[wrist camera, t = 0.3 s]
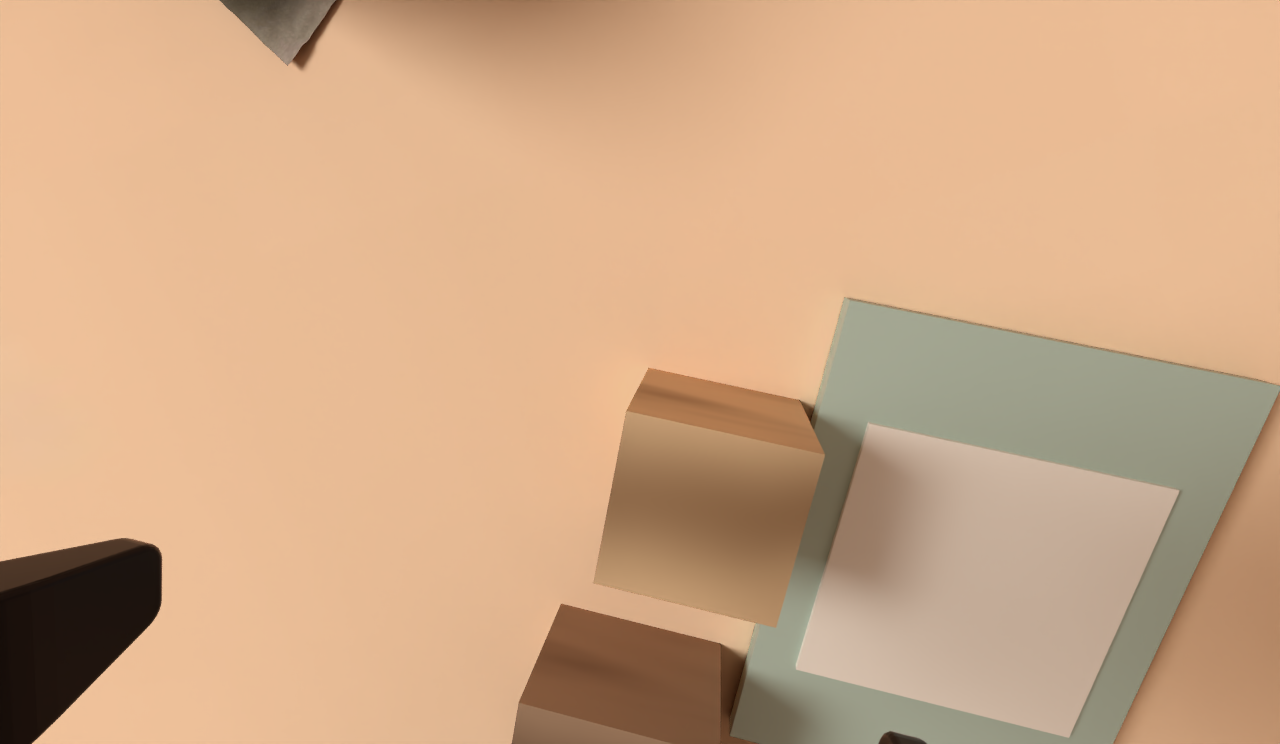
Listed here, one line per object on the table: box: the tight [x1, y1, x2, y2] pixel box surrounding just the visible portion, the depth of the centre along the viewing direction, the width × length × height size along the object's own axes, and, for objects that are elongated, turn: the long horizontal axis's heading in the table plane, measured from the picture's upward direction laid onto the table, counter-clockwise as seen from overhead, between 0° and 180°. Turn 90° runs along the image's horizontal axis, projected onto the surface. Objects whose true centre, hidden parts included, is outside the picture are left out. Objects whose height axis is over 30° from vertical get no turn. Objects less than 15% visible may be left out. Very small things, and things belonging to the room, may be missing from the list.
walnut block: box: [512, 604, 721, 744], centre depth 21 cm, size 6×6×5 cm
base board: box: [730, 297, 1280, 744], centre depth 20 cm, size 16×12×1 cm
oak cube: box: [594, 368, 825, 628], centre depth 18 cm, size 5×5×5 cm
